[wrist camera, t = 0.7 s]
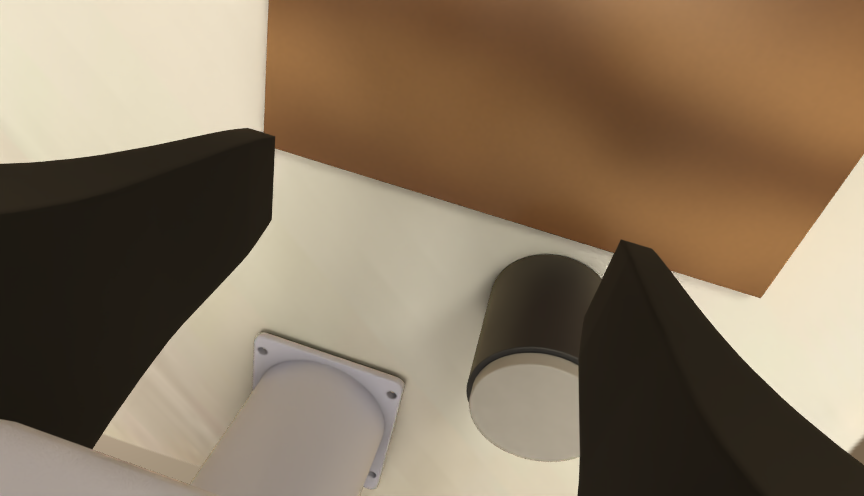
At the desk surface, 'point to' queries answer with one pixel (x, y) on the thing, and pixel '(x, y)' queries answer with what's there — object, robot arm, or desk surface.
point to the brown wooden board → (588, 114)
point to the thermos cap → (532, 358)
